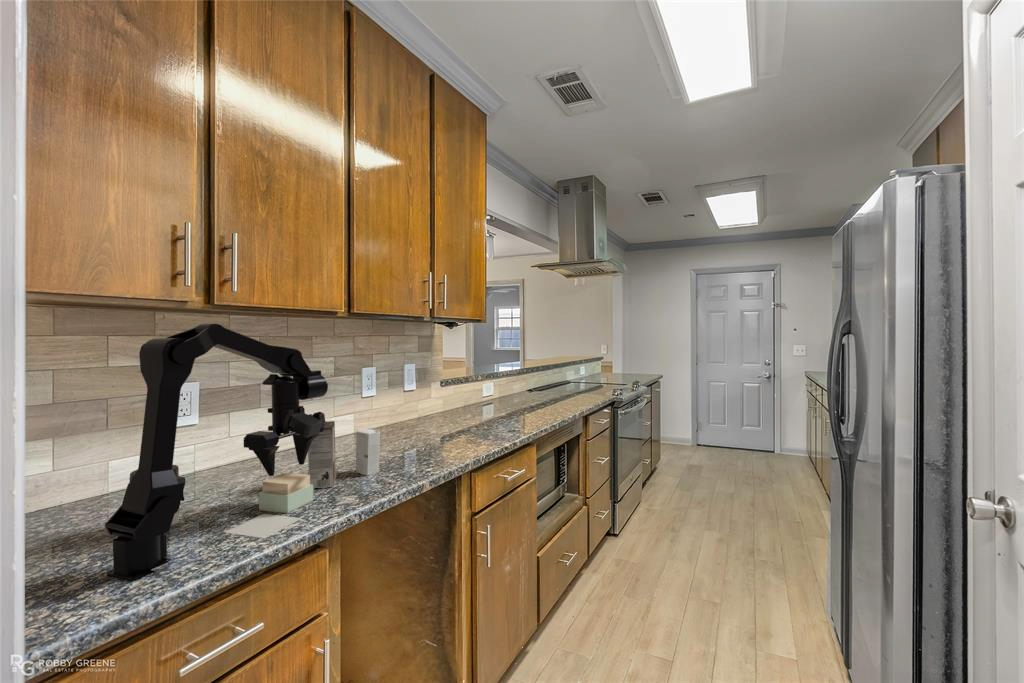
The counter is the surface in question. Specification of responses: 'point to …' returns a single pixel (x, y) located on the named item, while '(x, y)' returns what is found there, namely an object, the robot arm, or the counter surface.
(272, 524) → the mat
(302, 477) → the lid
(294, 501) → the sage green tray
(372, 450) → the skincare box
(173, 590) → the counter surface
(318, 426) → the robot arm
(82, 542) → the counter surface
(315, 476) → the coffee box
